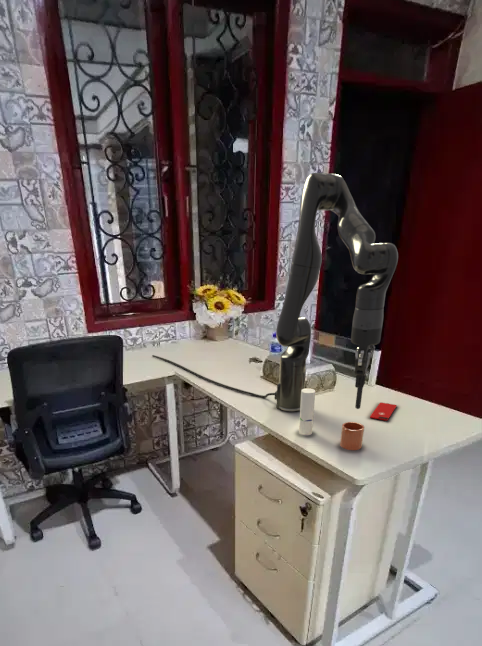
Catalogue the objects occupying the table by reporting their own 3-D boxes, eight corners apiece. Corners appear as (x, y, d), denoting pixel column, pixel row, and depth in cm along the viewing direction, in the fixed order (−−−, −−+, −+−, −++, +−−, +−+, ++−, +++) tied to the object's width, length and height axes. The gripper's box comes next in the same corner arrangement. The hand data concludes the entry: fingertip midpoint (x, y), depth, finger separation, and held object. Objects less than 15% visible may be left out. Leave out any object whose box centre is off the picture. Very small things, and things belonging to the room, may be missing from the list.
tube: (301, 429, 139) (304, 387, 133) (314, 432, 137) (317, 389, 130) (296, 434, 136) (299, 391, 129) (309, 437, 134) (312, 393, 127)
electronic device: (380, 403, 155) (369, 417, 145) (380, 402, 155) (369, 416, 144) (396, 406, 152) (387, 421, 141) (396, 404, 152) (387, 419, 141)
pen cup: (338, 449, 126) (340, 428, 123) (342, 440, 131) (344, 420, 128) (359, 453, 123) (362, 432, 120) (362, 444, 128) (365, 423, 125)
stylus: (354, 409, 121) (359, 369, 116) (355, 407, 123) (360, 368, 117) (359, 410, 121) (364, 370, 116) (360, 408, 122) (365, 368, 117)
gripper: (356, 319, 118) (350, 377, 126) (348, 329, 107) (341, 392, 115) (385, 320, 115) (376, 380, 122) (379, 331, 104) (370, 395, 112)
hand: (359, 386), depth 119 cm, fingers closed on stylus, 1 cm apart
